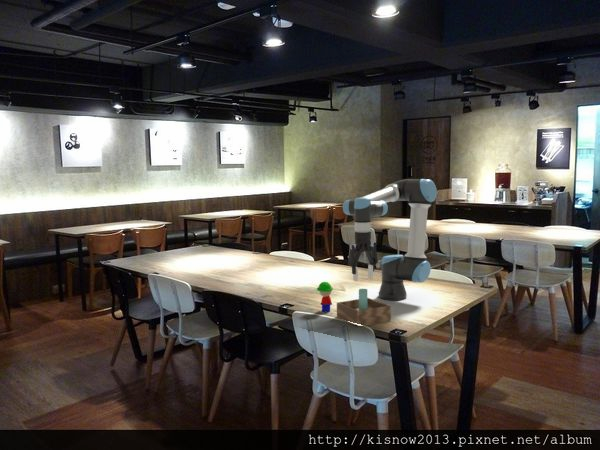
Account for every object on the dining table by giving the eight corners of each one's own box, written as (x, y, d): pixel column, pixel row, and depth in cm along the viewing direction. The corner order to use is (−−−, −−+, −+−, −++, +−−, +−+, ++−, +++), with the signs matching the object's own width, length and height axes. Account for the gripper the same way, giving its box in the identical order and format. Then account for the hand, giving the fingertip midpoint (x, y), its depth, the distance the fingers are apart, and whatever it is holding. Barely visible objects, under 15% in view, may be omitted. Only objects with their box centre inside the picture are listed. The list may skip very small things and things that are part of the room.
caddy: (367, 311, 244) (367, 297, 244) (390, 320, 228) (390, 306, 228) (336, 316, 236) (336, 302, 235) (358, 327, 220) (358, 311, 219)
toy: (314, 312, 245) (313, 282, 243) (323, 308, 251) (322, 279, 250) (327, 314, 240) (326, 284, 239) (336, 310, 246) (335, 281, 245)
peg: (364, 317, 235) (364, 288, 233) (369, 319, 231) (369, 289, 230) (357, 318, 233) (357, 289, 232) (362, 320, 230) (362, 291, 228)
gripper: (376, 228, 236) (376, 275, 238) (339, 232, 226) (340, 280, 229) (385, 230, 229) (386, 278, 232) (348, 233, 220) (349, 284, 222)
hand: (363, 279), depth 230 cm, fingers open, 8 cm apart
